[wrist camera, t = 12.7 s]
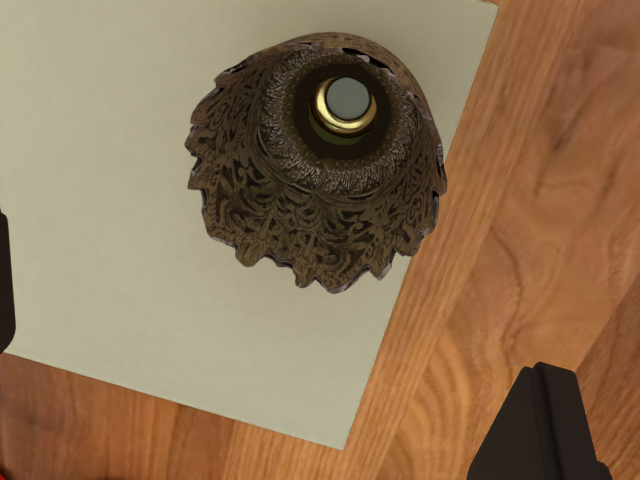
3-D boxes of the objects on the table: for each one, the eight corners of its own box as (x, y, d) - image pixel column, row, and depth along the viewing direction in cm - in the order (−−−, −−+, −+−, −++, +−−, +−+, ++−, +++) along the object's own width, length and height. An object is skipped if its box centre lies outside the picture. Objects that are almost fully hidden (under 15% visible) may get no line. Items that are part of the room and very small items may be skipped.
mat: (498, 4, 22) (500, 7, 21) (344, 443, 34) (343, 451, 34) (-423, -234, 23) (-443, -237, 23) (-247, 270, 36) (-257, 276, 35)
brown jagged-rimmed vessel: (229, 134, 25) (150, 225, 18) (298, -41, 21) (230, -8, 15) (388, 213, 26) (368, 330, 19) (483, 56, 22) (500, 131, 15)
